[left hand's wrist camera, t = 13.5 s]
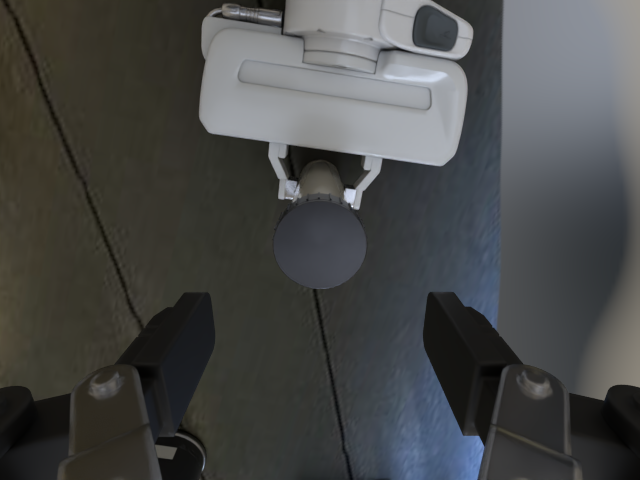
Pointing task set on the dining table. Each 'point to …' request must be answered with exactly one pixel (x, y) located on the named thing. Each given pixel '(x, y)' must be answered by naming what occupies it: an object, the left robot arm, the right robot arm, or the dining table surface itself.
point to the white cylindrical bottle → (320, 180)
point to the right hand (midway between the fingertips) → (319, 203)
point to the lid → (319, 241)
